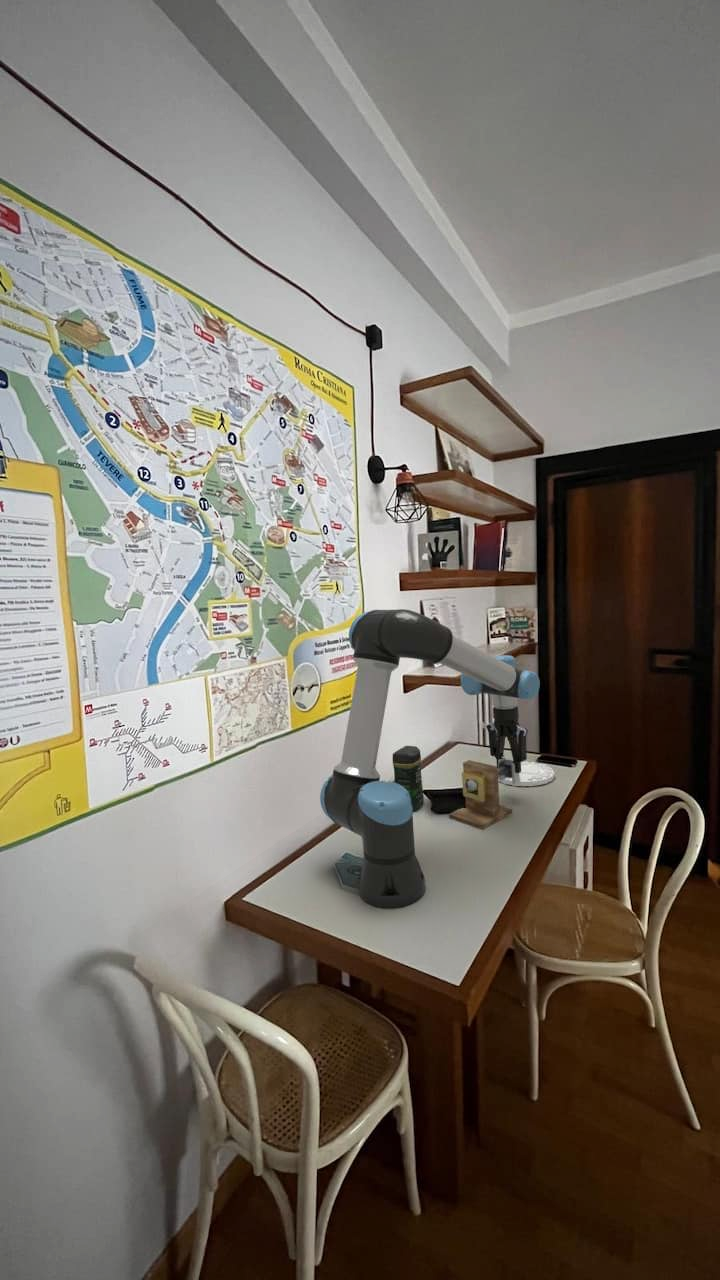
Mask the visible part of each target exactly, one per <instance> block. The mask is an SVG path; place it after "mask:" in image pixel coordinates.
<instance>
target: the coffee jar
mask: <svg viewBox="0 0 720 1280" xmlns="http://www.w3.org/2000/svg"><path fill="white" fill-rule="evenodd" d="M421 756H422V755H421V750H420V749H419V748H418V747H417V746H415V745H404V746H402V747H401V748H399V749H398V750H396V751H395V752H393V753H392V766H393V767H392V768H393V775H394V777H393V778H394V783H397V784H399V785H401V786H403V787H404V788H405V789H406V790H407V791H408V793H409V795H410V799H411V805H412V808H413V810H412V812H414V811H417V810H418V809H420V808H421V807H422V806H423V804H424V803H425V802H424V801H425V798H424V790H423V788H424V787H423V780H422V778H423V777H422V757H421Z"/></svg>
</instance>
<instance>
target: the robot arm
mask: <svg viewBox="0 0 720 1280" xmlns="http://www.w3.org/2000/svg"><path fill="white" fill-rule="evenodd" d="M453 633H454V632H453V631H452V630H451V629H450V628H449V627H447V626H446V625H444V624H442V623H441V622H438V621H436V620H434V619H432V618H430V617H428V616H426V615H424V614H421V613H419V612H417V611H414V610H411V609H372V610H369V611H364V612H362V613H360V614H359V615H358V616H357V617H355V618H354V620H352V623H351V624H350V627H349V630H348V641H349V644H350V645H351V646H350V647H351V649H352V650H353V658H352V660H353V662H354V663H355V664H356V666H357V669H356V674H355V680H354V686H353V692H352V699H351V703H350V708H349V714H348V720H347V726H346V731H345V732H346V733H345V736H344V743H343V747H342V753H341V754H342V756H341V761H340V762H339V763H338V764H336V765H335V766H334V767H333V770H332V775H330V776H329V777H328V778H327V780H326V781H324V783H323V784H322V787H321V789H320V793H319V794H320V795H319V799H320V807H321V809H322V811H323V813H324V815H326V816H327V818H329V819H330V820H331V821H332V822H333V823H335V824H336V825H339V826H341V827H343V828H345V829H347V830H349V831H350V832H353V833H354V834H356V835H358V836H360V837H361V842H362V849H363V850H362V852H363V859H362V860H363V861H362V865H361V866H362V867H361V871H360V875H359V878H358V880H357V881H358V884H357V885H358V895H359V896H360V898H361V899H362V900H363V901H364V902H366V903H367V904H369V905H371V906H374V907H379V908H383V909H384V908H389V909H390V908H391V909H392V908H400V907H404V906H409V905H411V904H413V903H416V902H417V901H418V900H420V898H422V896H423V895H424V894H425V892H426V889H427V888H426V878H425V875H424V873H423V870H422V867H421V865H420V863H419V860H418V858H417V856H416V849H415V847H416V846H415V833H414V818H413V813H414V811H412V810H413V808H412V805H411V799H410V795H409V793H408V791H407V790H406V789H405V788H404V787H403V786H401V785H399V784H397V783H395V781H393V782H392V781H387V782H386V781H385V780H380V778H381V775H380V773H379V772H378V771H377V768H376V765H377V760H378V753H379V748H380V742H381V736H382V729H383V723H384V719H385V718H384V717H385V711H386V705H387V701H388V700H387V699H388V693H389V688H390V687H389V686H390V682H391V676H392V673H393V672H394V671H395V670H396V669H398V668H399V665H400V659H401V658H402V659H404V658H405V659H414V660H420V661H424V662H426V663H429V664H431V665H436V664H441V665H443V666H445V667H448V668H449V669H451V670H453V671H456V672H458V673H460V674H461V677H460V686H461V689H462V690H463V691H464V693H465V694H466V695H469V696H474V695H475V696H479V695H480V694H486V695H487V694H488V695H491V703H492V717H493V719H494V721H493V722H492V723H489V724H486V729H487V731H488V743H489V753H490V754H489V755H490V756H491V757H494V758H495V760H496V766H497V768H499V763H500V762H502V761H504V760H506V757H505V755H504V754H505V753H504V752H505V746H506V745H505V744H506V739H507V741H508V742H509V743H508V744H509V747H510V751H511V756H512V759H513V760H512V761H513V762H512V763H511V765H512V783H513V784H516V783H518V782H520V776H519V773H520V772H521V762H523V761H524V762H525V761H527V736H528V732H529V731H528V729H527V728H523V727H521V726H520V723H519V707H518V705H519V703H518V699H520V700H531V699H533V698H535V697H536V696H537V695H538V693H539V690H540V687H541V686H540V685H541V684H540V683H541V681H540V678H539V675H538V674H537V673H535V672H534V671H532V670H531V671H530V670H526V669H524V670H521V669H519V668H517V667H516V659H515V657H514V656H512V655H508V654H507V655H506V654H505V655H503V654H502V655H500V654H499V655H494V656H493V655H491V654H489V653H488V652H485V651H484V650H481V649H479V648H478V647H477V646H474V645H472V644H470V643H468V642H466V641H465V640H463V639H461V638H459V637H457V636H455V635H454V634H453ZM506 778H507V777H502V778H500V779H499V780H500V781H502V780H504V779H506Z"/></svg>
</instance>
